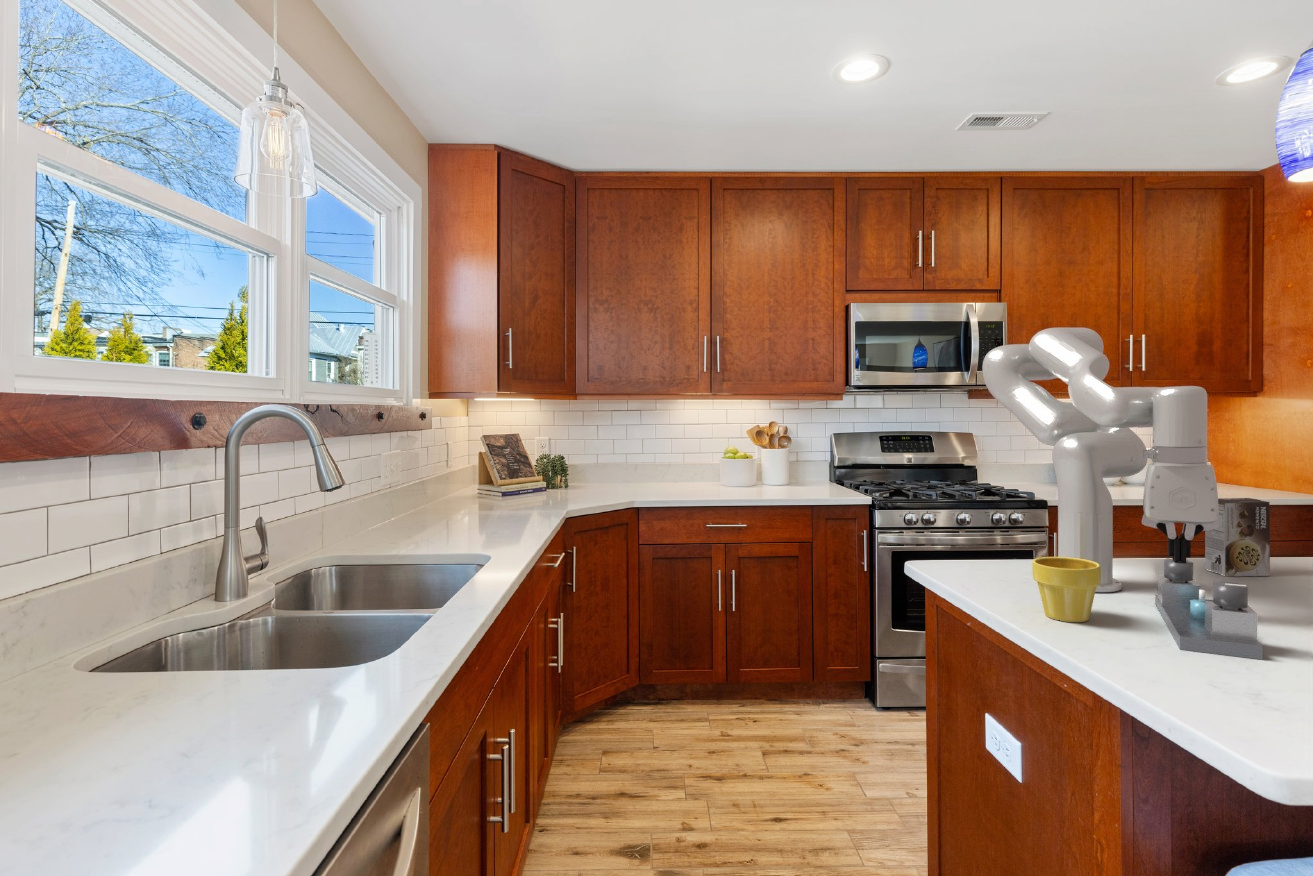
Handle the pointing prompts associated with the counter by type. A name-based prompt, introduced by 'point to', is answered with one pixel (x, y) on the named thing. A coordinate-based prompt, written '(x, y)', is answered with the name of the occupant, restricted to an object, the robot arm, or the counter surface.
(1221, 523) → the coffee box
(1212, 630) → the mount
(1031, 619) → the counter surface
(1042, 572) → the plant pot
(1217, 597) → the knob near
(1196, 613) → the potentiometer
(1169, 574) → the knob far
